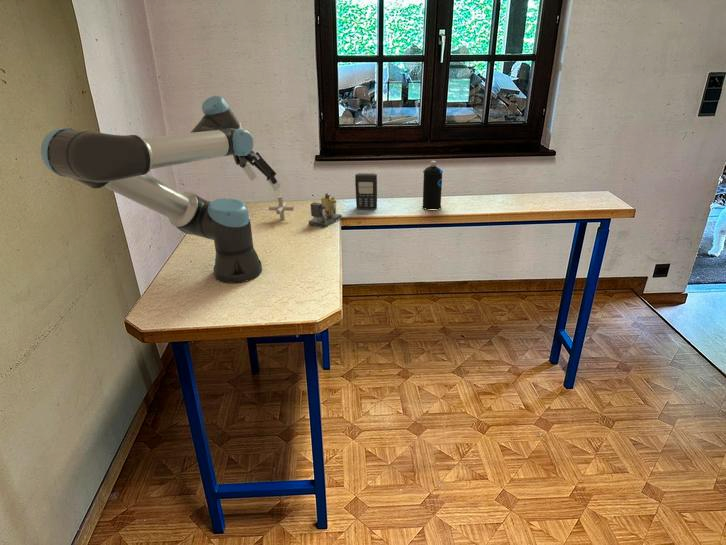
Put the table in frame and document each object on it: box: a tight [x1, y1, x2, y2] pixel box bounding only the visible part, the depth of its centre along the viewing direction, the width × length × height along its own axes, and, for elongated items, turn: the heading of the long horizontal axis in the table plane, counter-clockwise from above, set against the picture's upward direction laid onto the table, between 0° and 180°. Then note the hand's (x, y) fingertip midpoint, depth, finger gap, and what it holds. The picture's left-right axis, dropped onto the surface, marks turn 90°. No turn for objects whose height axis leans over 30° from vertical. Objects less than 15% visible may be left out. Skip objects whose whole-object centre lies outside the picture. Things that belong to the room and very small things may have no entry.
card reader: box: [354, 173, 378, 210], centre depth 204 cm, size 9×4×15 cm, turn 83°
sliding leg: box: [320, 192, 337, 215], centre depth 194 cm, size 4×6×8 cm, turn 60°
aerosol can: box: [421, 160, 444, 210], centre depth 201 cm, size 8×8×20 cm
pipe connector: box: [268, 195, 295, 222], centre depth 194 cm, size 10×10×10 cm
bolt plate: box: [308, 202, 342, 228], centre depth 192 cm, size 12×8×8 cm, turn 150°
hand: (265, 183), depth 175 cm, fingers open, 13 cm apart
